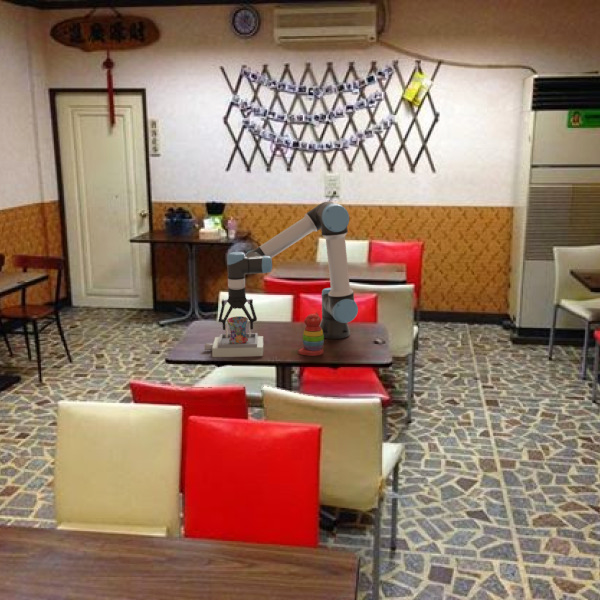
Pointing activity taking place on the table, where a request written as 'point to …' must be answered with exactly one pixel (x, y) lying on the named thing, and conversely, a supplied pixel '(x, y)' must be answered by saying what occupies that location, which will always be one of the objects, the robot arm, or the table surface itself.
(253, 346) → the open box
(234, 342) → the mug
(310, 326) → the stacking bear
